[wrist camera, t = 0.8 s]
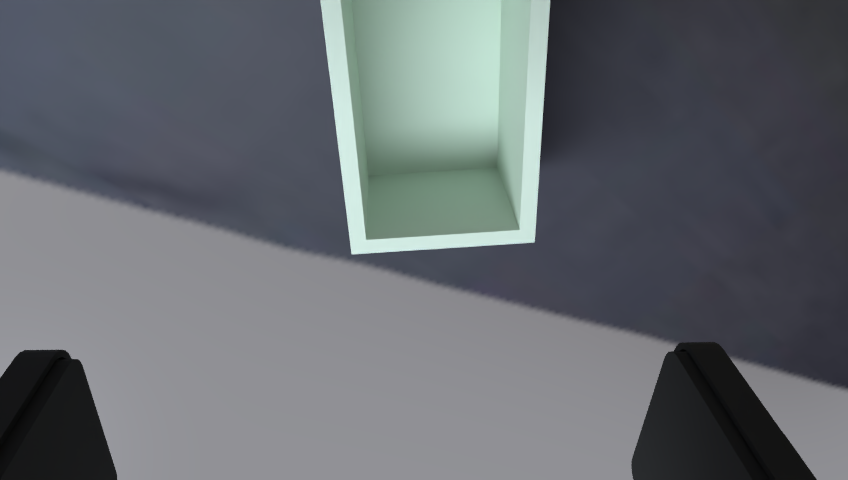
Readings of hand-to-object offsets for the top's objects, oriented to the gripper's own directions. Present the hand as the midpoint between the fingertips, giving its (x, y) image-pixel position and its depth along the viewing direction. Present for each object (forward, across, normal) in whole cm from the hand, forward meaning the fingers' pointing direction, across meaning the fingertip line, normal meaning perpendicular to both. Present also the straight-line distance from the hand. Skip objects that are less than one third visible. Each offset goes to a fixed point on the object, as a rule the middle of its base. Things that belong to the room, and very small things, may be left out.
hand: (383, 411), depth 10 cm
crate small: (+19, -2, 0) cm, 19 cm away
